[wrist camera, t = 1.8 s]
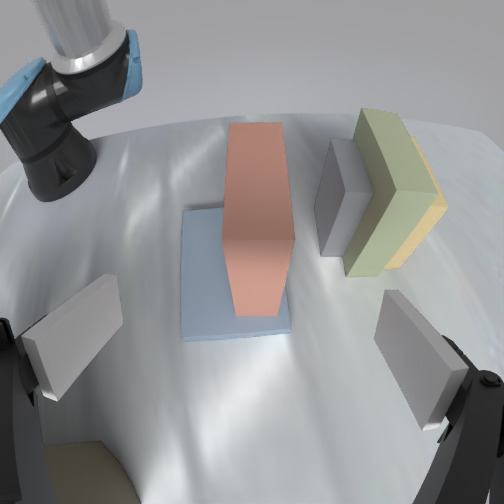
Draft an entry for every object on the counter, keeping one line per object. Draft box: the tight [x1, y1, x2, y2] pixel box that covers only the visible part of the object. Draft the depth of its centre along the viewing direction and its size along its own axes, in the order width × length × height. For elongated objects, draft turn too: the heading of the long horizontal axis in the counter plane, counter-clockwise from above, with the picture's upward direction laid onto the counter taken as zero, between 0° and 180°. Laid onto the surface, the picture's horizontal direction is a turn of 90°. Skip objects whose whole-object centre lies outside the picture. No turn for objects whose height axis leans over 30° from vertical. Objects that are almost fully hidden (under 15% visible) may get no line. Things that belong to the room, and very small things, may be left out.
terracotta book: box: [222, 123, 295, 317], centre depth 28 cm, size 12×4×16 cm, turn 0°
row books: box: [343, 108, 448, 277], centre depth 32 cm, size 12×8×17 cm, turn 0°
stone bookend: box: [314, 139, 374, 257], centre depth 35 cm, size 8×3×13 cm, turn 0°
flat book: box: [181, 207, 291, 341], centre depth 37 cm, size 17×12×2 cm
